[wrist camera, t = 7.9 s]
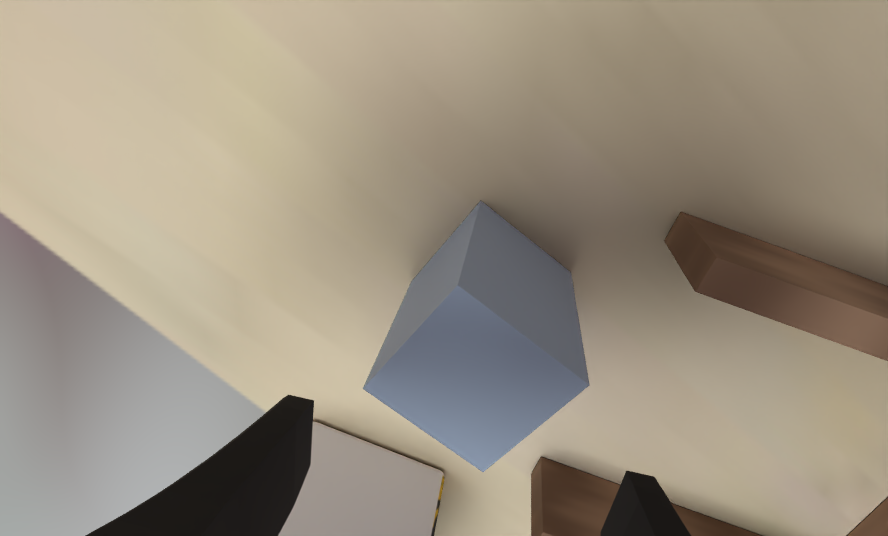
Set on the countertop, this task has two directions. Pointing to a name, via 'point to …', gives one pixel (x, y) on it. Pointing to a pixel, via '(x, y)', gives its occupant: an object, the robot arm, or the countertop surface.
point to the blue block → (483, 342)
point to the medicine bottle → (363, 491)
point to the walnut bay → (759, 291)
